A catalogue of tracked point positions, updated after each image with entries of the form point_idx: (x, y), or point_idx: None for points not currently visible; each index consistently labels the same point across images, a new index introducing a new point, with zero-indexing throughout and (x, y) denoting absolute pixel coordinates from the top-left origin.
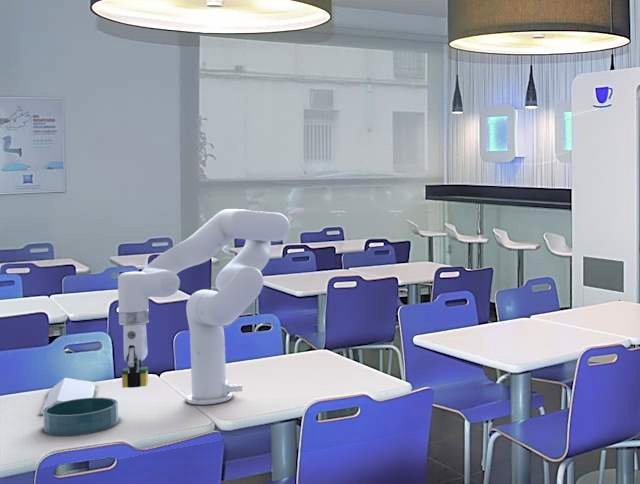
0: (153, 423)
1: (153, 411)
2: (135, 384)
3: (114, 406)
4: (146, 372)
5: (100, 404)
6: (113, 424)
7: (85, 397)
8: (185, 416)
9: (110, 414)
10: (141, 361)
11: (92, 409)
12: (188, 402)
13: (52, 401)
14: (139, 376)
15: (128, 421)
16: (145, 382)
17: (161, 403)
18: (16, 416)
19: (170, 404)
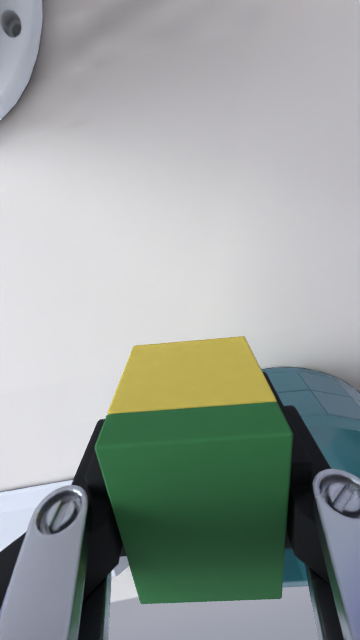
0: (341, 225)
1: (140, 271)
2: (289, 407)
3: (339, 414)
4: (213, 402)
5: None
6: (314, 372)
7: (10, 519)
8: (269, 72)
9: (356, 403)
10: (72, 585)
11: None
12: (6, 113)
13: None
14: (293, 428)
15: (270, 334)
16: (252, 352)
17: (8, 267)
18: None
19: (24, 219)
